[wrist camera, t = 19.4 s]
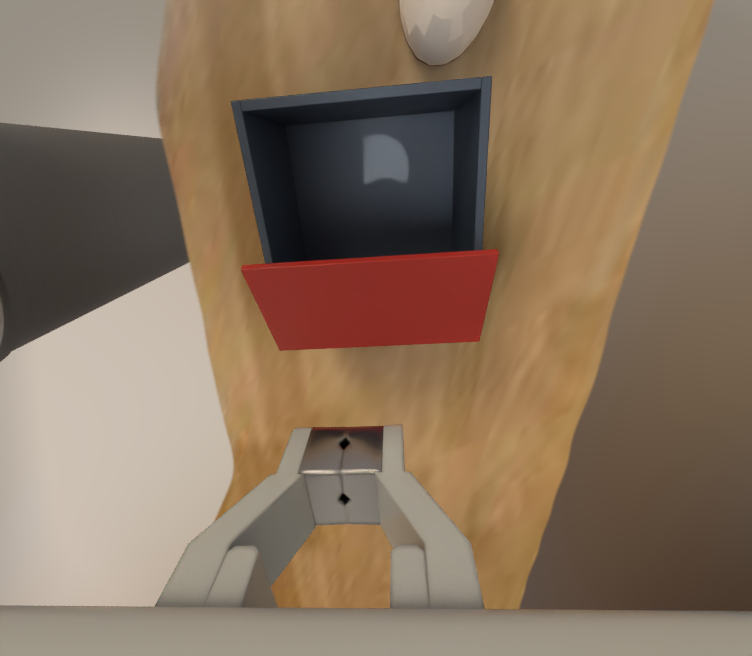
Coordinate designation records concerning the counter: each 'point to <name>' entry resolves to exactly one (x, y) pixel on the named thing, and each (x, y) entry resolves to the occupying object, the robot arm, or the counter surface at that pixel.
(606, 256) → the counter surface
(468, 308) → the lid
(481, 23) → the beige and grey spoon
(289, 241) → the carton
